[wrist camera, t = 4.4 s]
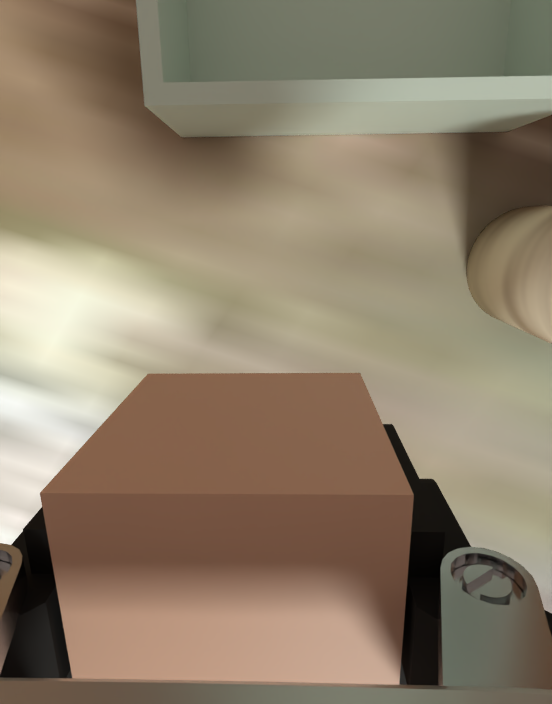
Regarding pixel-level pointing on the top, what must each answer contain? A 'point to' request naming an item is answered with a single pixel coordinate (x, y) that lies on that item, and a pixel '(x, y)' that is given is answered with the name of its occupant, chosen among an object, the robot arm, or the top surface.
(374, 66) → the sage tote
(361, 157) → the top surface
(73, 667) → the terracotta cube
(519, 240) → the birch cylinder
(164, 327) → the top surface
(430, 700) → the robot arm
